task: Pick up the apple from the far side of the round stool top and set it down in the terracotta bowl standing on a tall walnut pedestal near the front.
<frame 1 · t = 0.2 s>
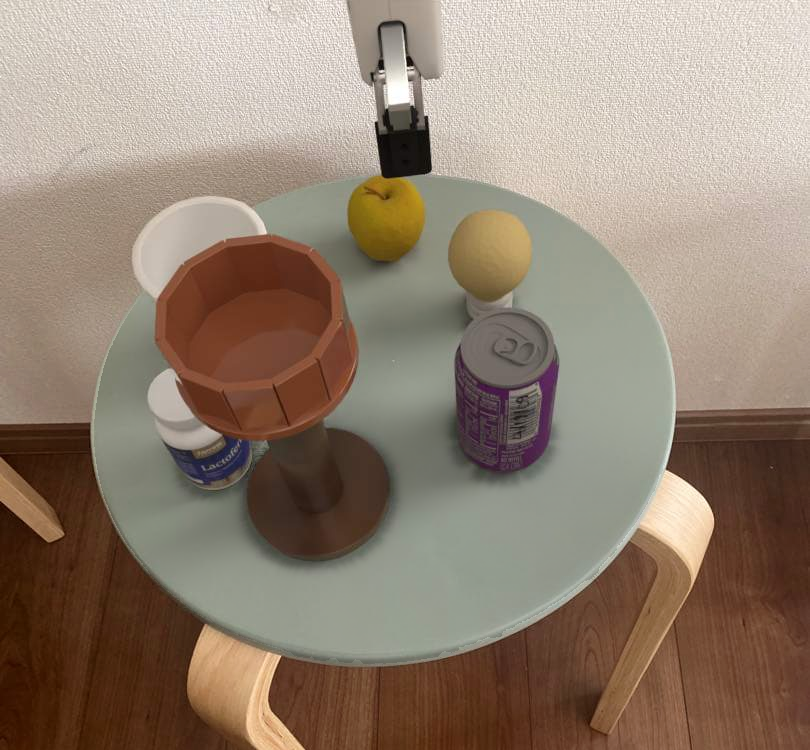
hand: (401, 117, 58), 18 cm above the table, tool pointing down, fingers open, 9 cm apart
apple: (390, 253, 78), on the table
cup: (244, 354, 75), on the table
light bulb: (489, 312, 74), on the table
pedestal: (319, 495, 69), on the table
bowl: (267, 361, 52), resting on pedestal
pill bottle: (219, 461, 71), on the table
beverage can: (503, 437, 70), on the table
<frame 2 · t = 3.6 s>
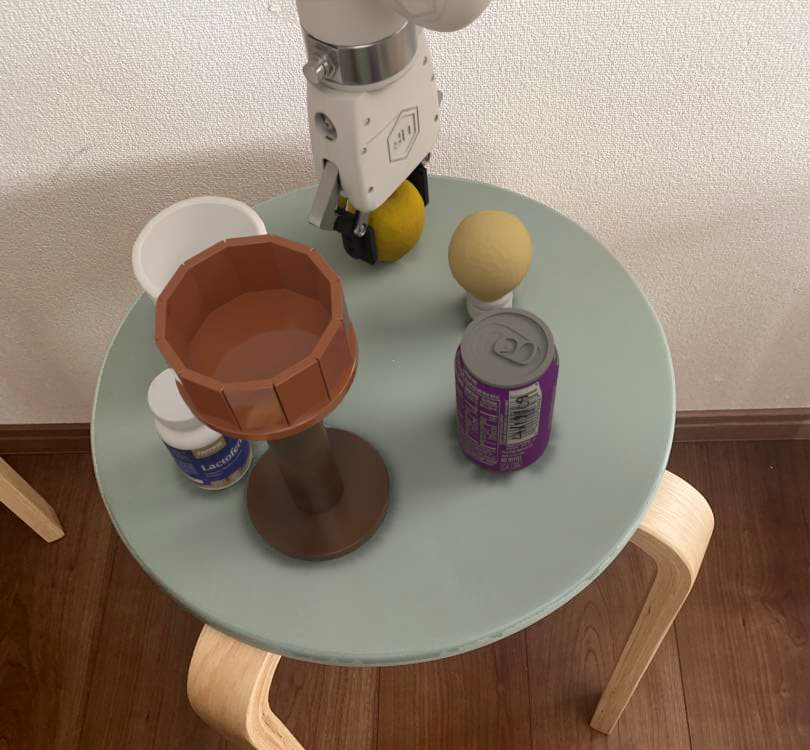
hand: (387, 226, 75), 3 cm above the table, tool pointing down, fingers closed on apple, 6 cm apart
apple: (390, 253, 78), on the table, touching gripper
everything else where it was.
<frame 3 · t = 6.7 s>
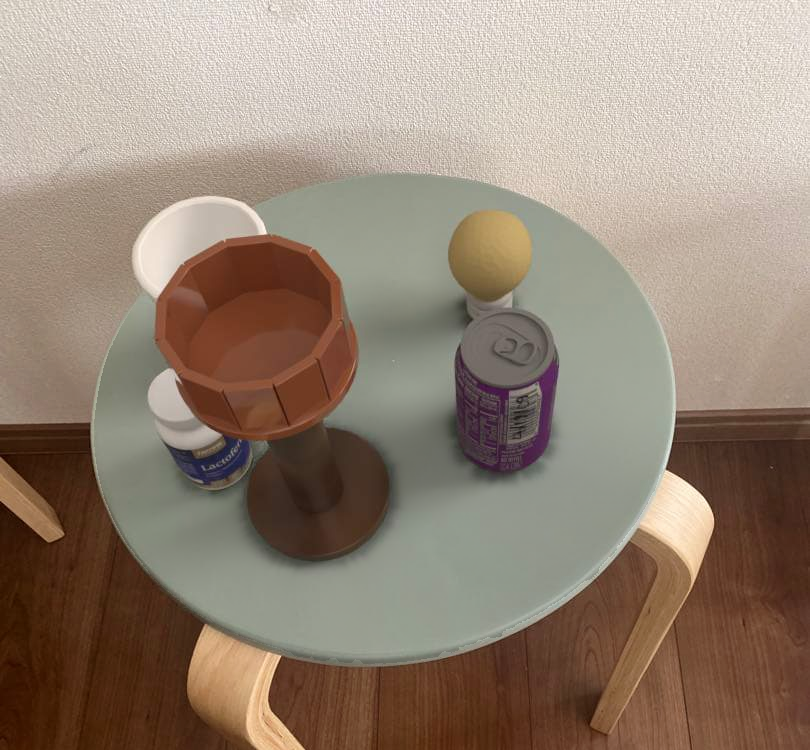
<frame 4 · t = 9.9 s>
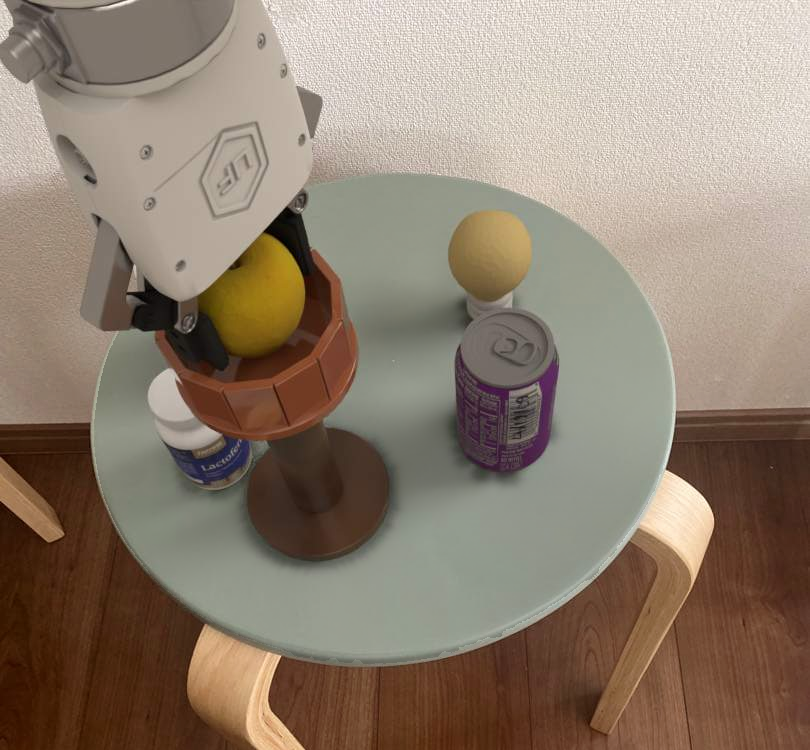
hand: (248, 306, 47), 23 cm above the table, tool pointing down, fingers closed on apple, 6 cm apart
apple: (261, 342, 51), point 20 cm above the table, touching gripper
everything else where it was.
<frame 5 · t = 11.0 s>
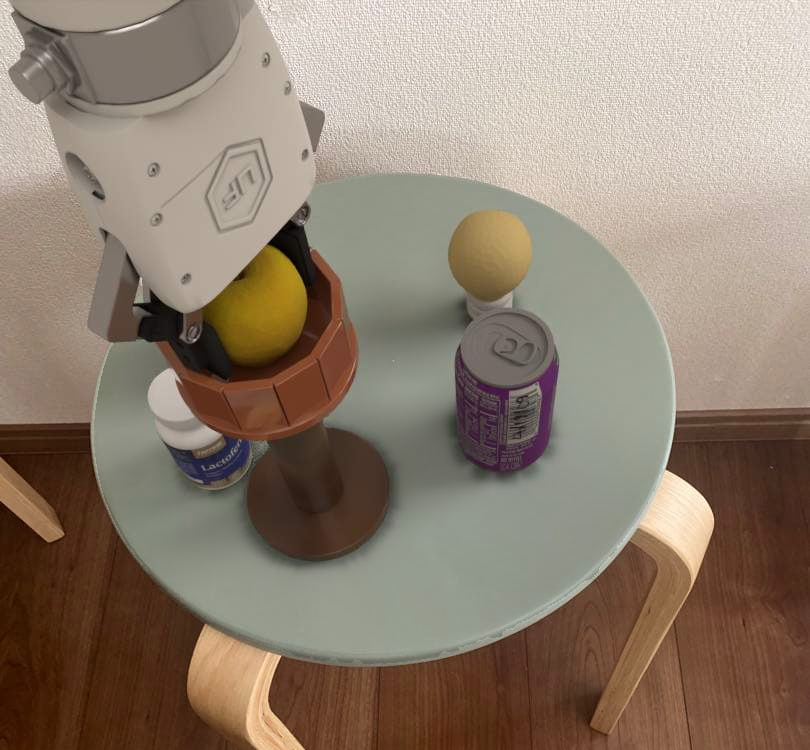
hand: (251, 316, 48), 22 cm above the table, tool pointing down, fingers closed on apple, 6 cm apart
apple: (264, 351, 51), point 19 cm above the table, touching gripper
everything else where it was.
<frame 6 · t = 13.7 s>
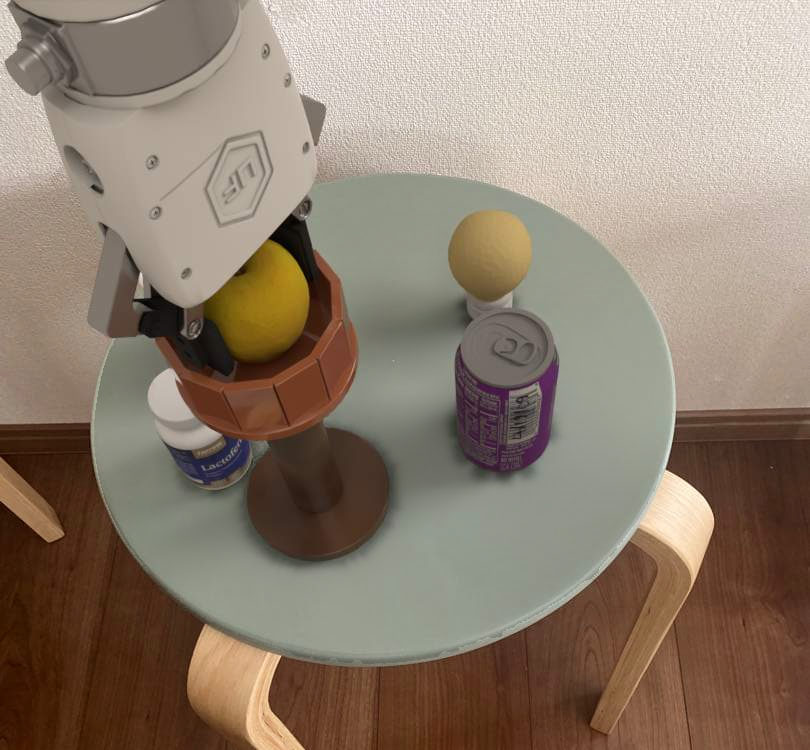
hand: (252, 312, 48), 23 cm above the table, tool pointing down, fingers closed on apple, 6 cm apart
apple: (266, 347, 51), point 19 cm above the table, touching gripper
everything else where it was.
when the fingers open (23 cm above the table, at t = 16.2 s): apple stays where it is, resting on bowl.
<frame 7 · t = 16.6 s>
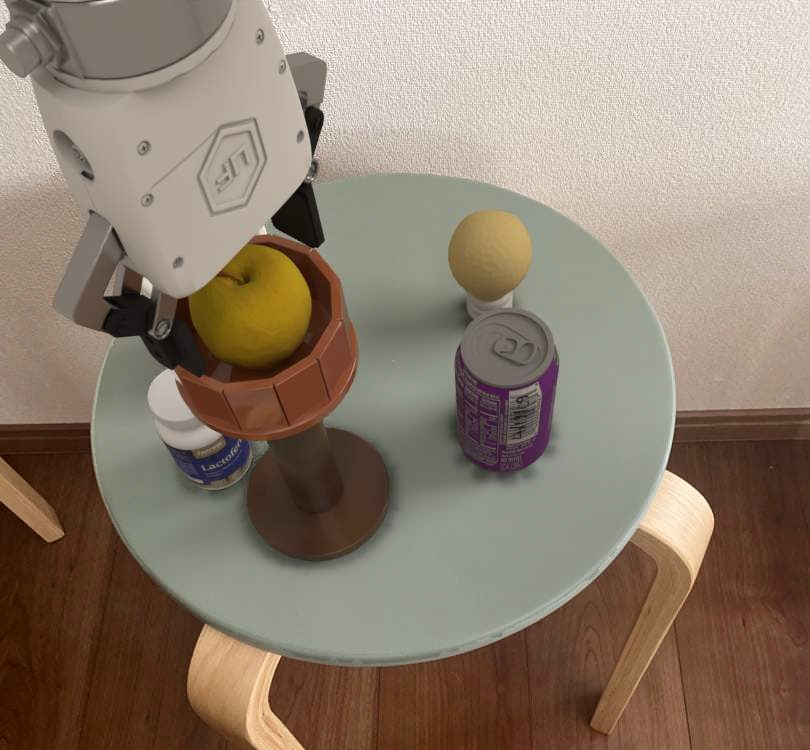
hand: (242, 296, 47), 24 cm above the table, tool pointing down, fingers open, 9 cm apart
apple: (268, 354, 52), point 19 cm above the table, touching bowl
everything else where it was.
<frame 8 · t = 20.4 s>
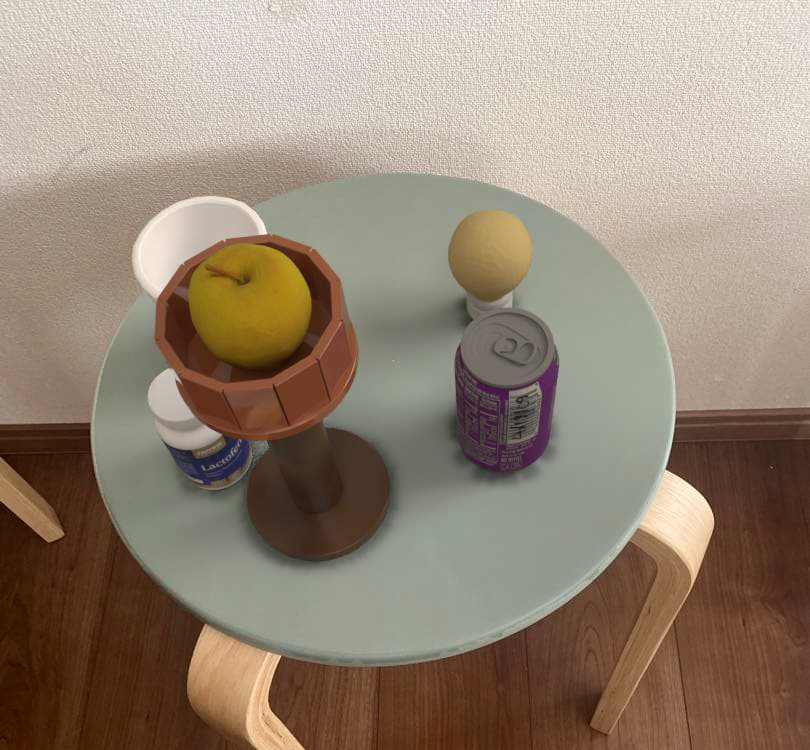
nothing on the table moved.
at the end: apple 0.2 cm off-centre on the bowl, point 0.6 cm above the bowl's base; the gripper is holding nothing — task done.
